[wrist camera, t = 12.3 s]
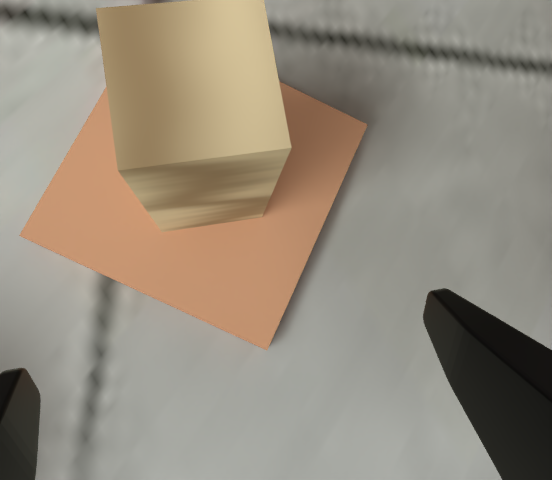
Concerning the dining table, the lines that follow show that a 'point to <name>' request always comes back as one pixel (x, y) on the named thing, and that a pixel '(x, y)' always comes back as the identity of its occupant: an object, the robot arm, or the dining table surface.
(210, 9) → the maple block
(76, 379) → the dining table surface
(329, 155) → the terracotta tile
